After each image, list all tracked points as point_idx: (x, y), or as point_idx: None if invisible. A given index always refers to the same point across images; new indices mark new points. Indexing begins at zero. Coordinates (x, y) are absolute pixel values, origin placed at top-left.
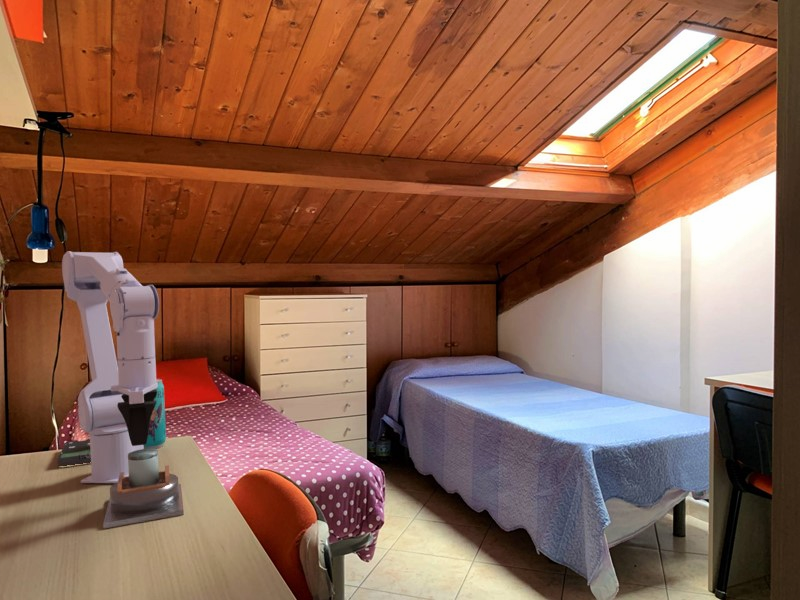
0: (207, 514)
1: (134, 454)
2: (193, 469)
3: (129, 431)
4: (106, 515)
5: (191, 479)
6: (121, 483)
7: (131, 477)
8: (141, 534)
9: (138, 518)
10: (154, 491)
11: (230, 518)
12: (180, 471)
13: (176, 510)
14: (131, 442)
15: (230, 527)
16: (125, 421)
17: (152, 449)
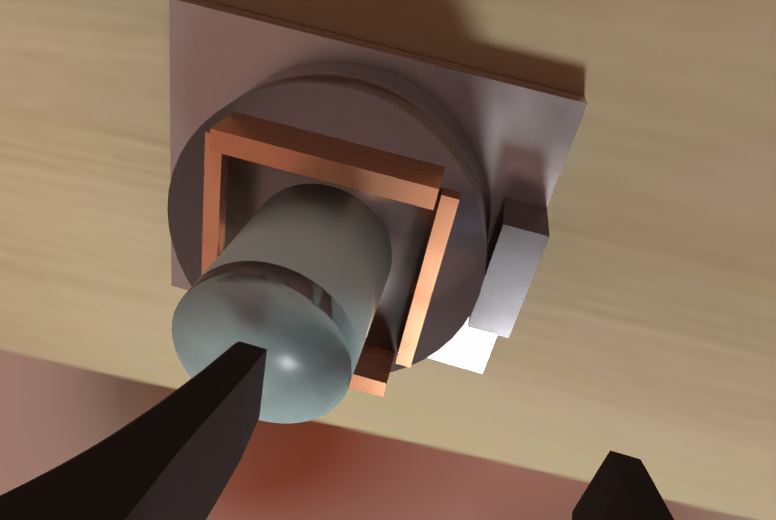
0: (147, 325)
1: (241, 308)
2: (705, 472)
3: (151, 413)
4: (268, 28)
5: (567, 420)
6: (212, 148)
7: (263, 212)
8: (61, 113)
9: (171, 138)
10: (176, 250)
11: (84, 354)
12: (733, 434)
13: (173, 265)
14: (224, 355)
15: (18, 329)
16: (44, 473)
17: (301, 409)
